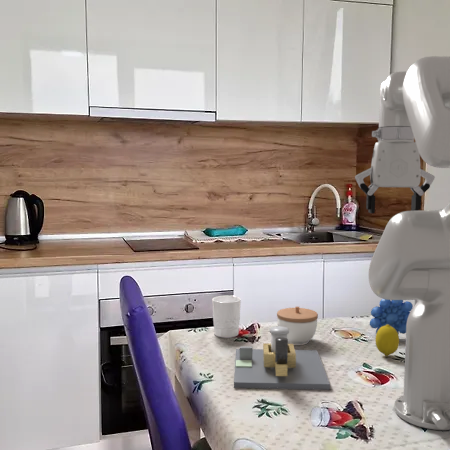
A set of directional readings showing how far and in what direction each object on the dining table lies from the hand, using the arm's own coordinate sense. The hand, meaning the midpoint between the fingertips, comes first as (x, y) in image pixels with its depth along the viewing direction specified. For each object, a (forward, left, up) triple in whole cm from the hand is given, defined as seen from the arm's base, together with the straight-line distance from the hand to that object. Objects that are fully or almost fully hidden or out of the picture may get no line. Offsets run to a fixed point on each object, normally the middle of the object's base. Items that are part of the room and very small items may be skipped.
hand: (393, 213), depth 116 cm
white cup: (+21, +38, -36) cm, 57 cm away
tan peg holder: (-6, +25, -34) cm, 43 cm away
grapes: (+20, -7, -36) cm, 42 cm away
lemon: (+6, -2, -36) cm, 37 cm away
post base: (-4, +25, -36) cm, 44 cm away
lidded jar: (+16, +19, -36) cm, 44 cm away
